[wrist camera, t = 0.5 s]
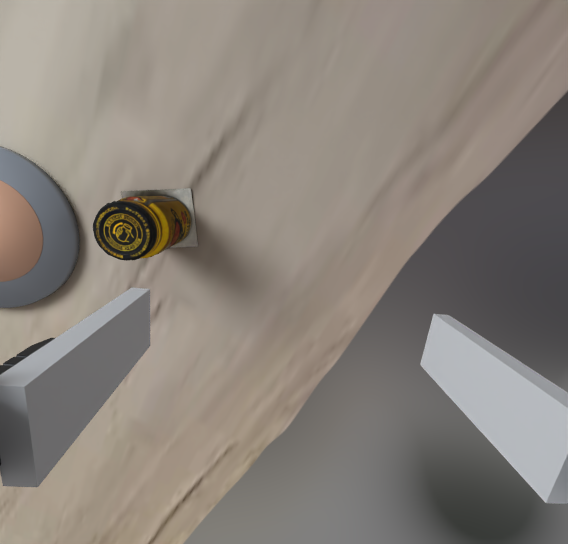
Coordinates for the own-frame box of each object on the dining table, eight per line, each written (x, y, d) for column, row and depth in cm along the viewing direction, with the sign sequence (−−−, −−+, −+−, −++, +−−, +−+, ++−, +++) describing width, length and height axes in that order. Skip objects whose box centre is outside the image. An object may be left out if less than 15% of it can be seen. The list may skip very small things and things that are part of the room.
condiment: (198, 246, 37) (167, 268, 26) (132, 249, 37) (70, 273, 25) (191, 188, 35) (153, 184, 24) (122, 191, 35) (49, 189, 23)
